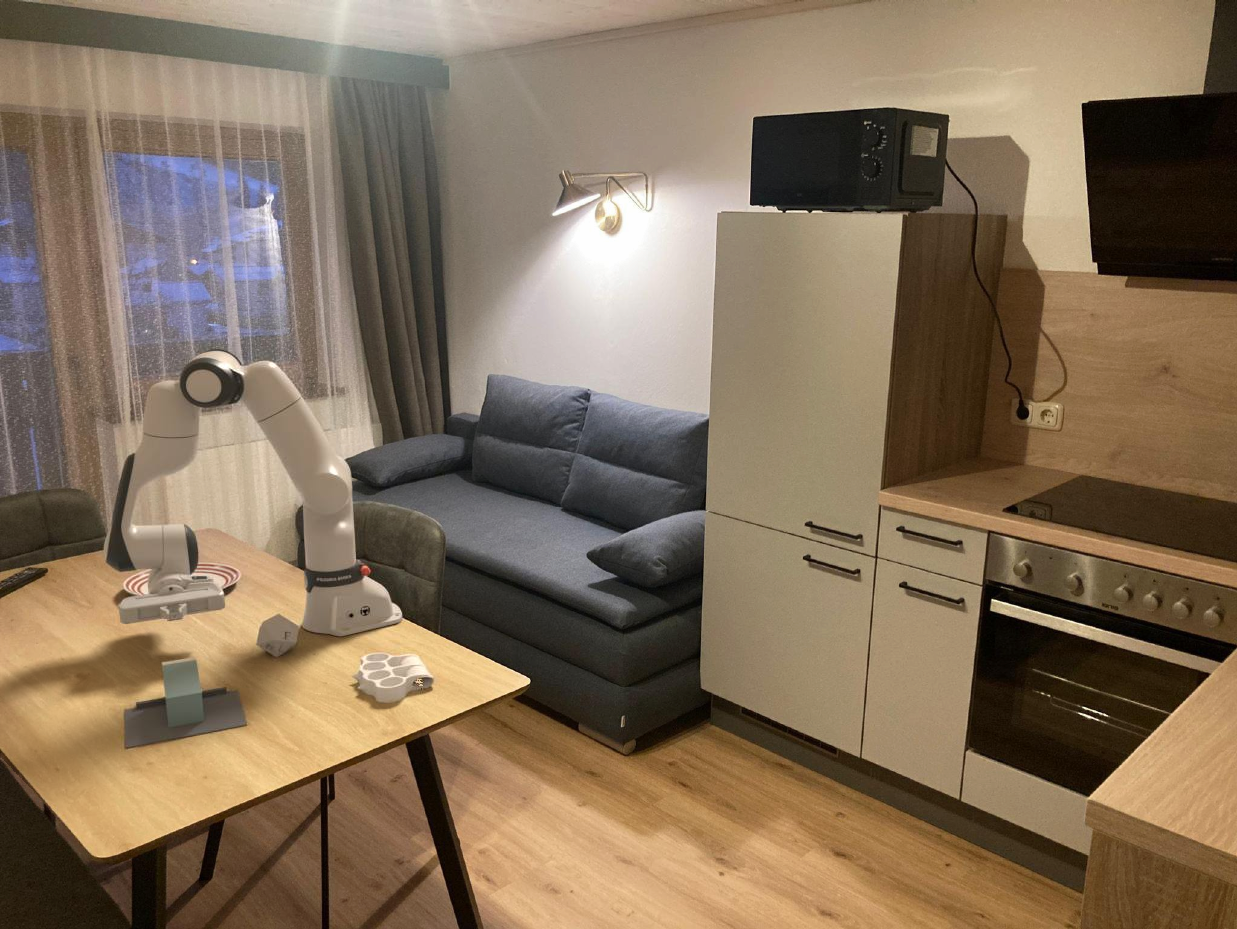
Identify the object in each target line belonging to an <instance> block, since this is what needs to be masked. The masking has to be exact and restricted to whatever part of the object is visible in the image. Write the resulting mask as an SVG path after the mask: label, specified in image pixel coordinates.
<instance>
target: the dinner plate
mask: <svg viewBox="0 0 1237 929" xmlns="http://www.w3.org/2000/svg"><path fill="white" fill-rule="evenodd" d="M150 571H151V569H145V570H143V571H140V572H137V573H136V574H133V575H131V576H129V577H127V578H126V579H125V580H124V582H123V583H122V588H123V590H124V591H125V592H126V593H127V594H130V595H131V596H138V595H145V594H148V577H149V573H150ZM190 576H212V577H213V580H214V582H215V583H217V584H219V585H220V587H221V588H222V590H224V589H225V590H226V589H227V588H228V587H230V586H233V585H234V584H236V583H238V581H239V580H240V579H241V578H242V573H241V571H240V570H239V569H238V568H235V567H234V566H231V565H227V564H222V563H215V562H214V563H213V562H198V566H197V568H196V569H195V571H194V572H193V573H192V574H191V575H190Z"/></svg>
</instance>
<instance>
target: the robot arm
mask: <svg viewBox="0 0 1237 929" xmlns="http://www.w3.org/2000/svg"><path fill="white" fill-rule="evenodd" d="M238 402H239V403H241V404H243V405H244V406H245V407H246V408H247V409H248V411H249V413H250V414H251V415H252V417H253V418H254V420H255V422H256V424H258V426H259V428H260V430H261V431H262V432H263V434H264V435H265V437H266V439H267V440H268V442H269V443H270V445H271V447H272V448H273V449H274V451H275V453H276V454H277V456H278V458H279V460H280V462H281V464H282V466H283V467H284V470H285V471H286V473H287V475H288V476H289V478H290V480H291V482H292V484H293V485H294V487H295V489H296V490H297V493H298V494H299V496H300V497H301V499H302V511H303V512H302V513H303V514H302V516H303V518H302V519H303V539H304V554H305V555H304V556H305V558H304V559H305V565H304V566H303V567H304V568H303V570H304V572H303V580H304V581H303V582H304V588H305V591H306V595H305V596H306V599H305V607H304V608H305V609H304V615H303V619H302V623H301V626H302V628H303V629H305V630H306V631H309V632H311V633H312V632H313V633H315V634H316V633H317V634H329V635H333V636H335V637H344V636H349V635H352V634H356V633H358V634H359V633H363V632H365V631H369V630H373V629H374V630H375V629H379V628H382V627H386V626H390V625H394V624H398V623H400V622H401V621H402V619H403V613H402V610H401V608H400V607H399V606H398V605H397V604H396V603H394V602H392V598H391V596H390V593H389V592H388V590H387V589H386V588H385V587H384V586H383V585H382V584H381V583H379V582H377V581H376V580H374V579H372V578H370V577H368V576H369V575H370V574H371V572H372V571H371V569H370V568H369V566H367V565H366V564H365V563H363V562H362V561H360V560H359V559H356V558H357V557H356V540H355V539H356V536H355V523H354V522H355V520H354V504H353V483H352V482H353V480H352V479H353V478H352V471H351V468H350V466H349V464H348V463H347V461H346V460H345V459H344V458H343V457H341V456H340V455H338V454H336V451H335V450H334V449H333V447H332V445H331V442H330V441H329V439H328V438H327V435H326V433H325V432H324V430H323V428H322V426H321V424H320V423H319V422H318V419H317V418H316V416H315V415H314V413H313V412H312V410H311V409H310V407H309V406H308V404H307V402H306V401H305V399H304V398H303V396H302V394H301V393H300V390H298V388H297V387H296V386H295V384H294V383H293V381H292V380H291V379H290V378H289V377H288V375H286V373H285V372H284V371H283V370H282V368H280V367H279V366H278V364H277V363H275V362H273V361H270V360H259V361H255V362H253V363H251V364H249V365H243V364H242V362H241V360H240V359H239V358H238V357H237V356H236V355H235V354H234V353H232V352H231V351H228V350H226V349H220V348H219V349H218V348H217V349H216V348H213V349H209V350H206V351H205V352H203V353H199V354H197V355H196V356H194V357H193V358H192V359H191V360H189V362H188V363H187V364H186V365H185V366H184V367H183V368H182V370H181V372H180V376H179V379H177V380H170V379H169V380H163V381H159V382H157V383H155V384H153V385H152V386H151V387H150V388H149V390H148V392H147V395H146V400H145V405H144V410H143V412H144V413H143V422H142V437H141V441H140V444H139V446H138V447H137V449H136V450H135V452H132V453H131V454H129V455H128V456H127V457H126V459H125V461H124V464H123V466H122V471H121V475H120V479H119V482H118V487H117V491H116V497H115V503H114V507H113V510H112V512H113V513H112V518H111V523H110V527H109V530H108V533H107V535H106V537H105V539H104V540H105V541H104V544H103V557H104V560H105V563H106V565H108V566H109V567H110V568H112V569H114V570H116V571H117V572H118V573H124V572H132V571H138V570H149V569H151V571H150V573H149V577H148V594H145V595H138V596H134V595H131V596H128V597H125V598H123V599H122V601H120V602H119V603H118V604H117V609H118V614H119V615H118V616H119V621H120V623H121V624H125V625H129V624H130V625H131V624H134V623H135V624H136V623H142V622H148V621H155V620H160V619H161V620H162V619H164V620H166V621H167V622H172V621H180V620H183V619H184V617H185V616H189V615H195V614H203V613H208V612H213V611H221V610H223V609H225V608H226V600H225V593H224V589H222V588H221V587H220V585H219V584H217V583H215V582H214V580H213V577H212V576H190V575H191V574H192V573H193V572H194V571H195V569H196V568H197V566H198V563H199V545H198V541H197V536H196V533H195V532H194V531H193V530H192V529H191V527H189V526H188V525H187V524H185V523H181V524H180V523H176V524H175V523H169V524H166V523H165V524H164V523H163V524H147V525H146V524H145V525H144V524H143V525H142V524H141V525H137V524H134V523H133V520H134V514H135V510H136V505H137V500H138V495H139V494H140V491H141V489H143V488H144V487H145V486H146V485H148V484H149V483H152V482H153V481H156V480H159V479H162V478H164V477H165V478H166V477H168V476H171V475H174V474H176V473H178V472H180V471H182V470H184V469H185V468H187V467H188V466H189V465H190V464H192V463H193V462H194V460H195V458H196V457H197V454H198V449H199V442H200V440H199V439H200V416H201V412H202V409H203V408H204V409H214V408H220V407H223V406H224V407H225V406H228V405H235V404H237V403H238Z"/></svg>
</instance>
